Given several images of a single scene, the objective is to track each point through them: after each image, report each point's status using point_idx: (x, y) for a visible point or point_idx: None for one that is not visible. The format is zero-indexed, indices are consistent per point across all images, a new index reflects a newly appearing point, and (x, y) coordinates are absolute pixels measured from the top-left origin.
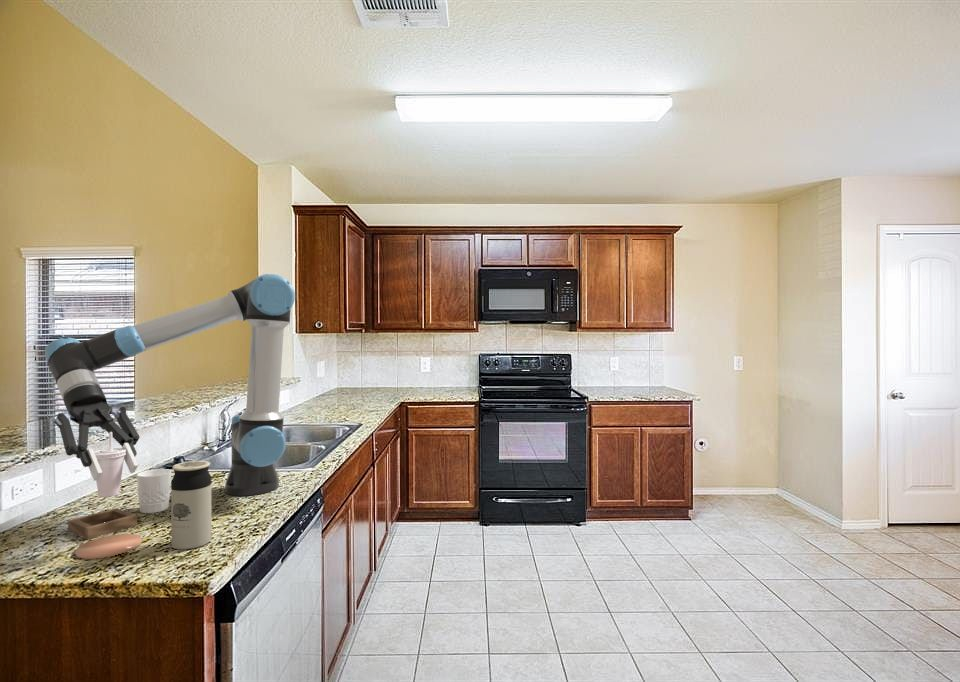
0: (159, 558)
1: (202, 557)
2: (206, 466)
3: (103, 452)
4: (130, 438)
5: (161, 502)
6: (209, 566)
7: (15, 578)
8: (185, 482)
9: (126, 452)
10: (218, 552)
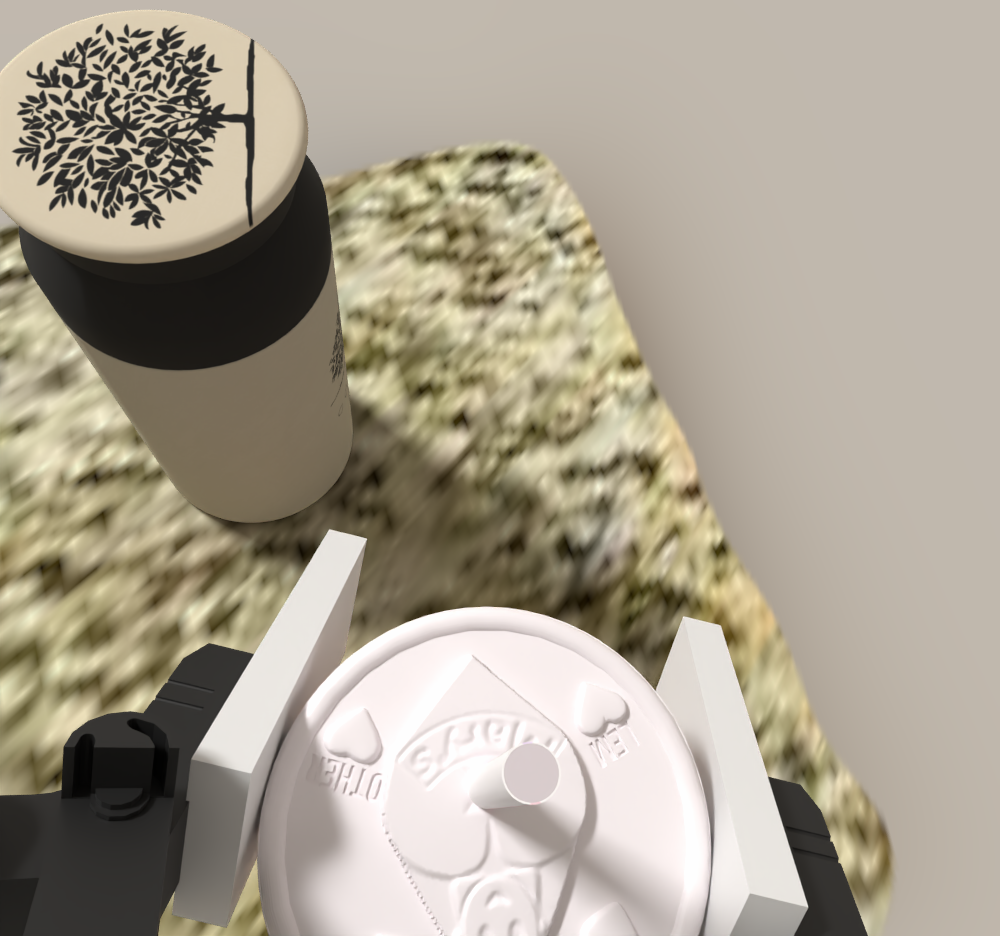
0: (453, 441)
1: (385, 280)
2: (143, 15)
3: (582, 819)
4: (131, 743)
5: None
6: (448, 201)
7: (863, 900)
8: (308, 158)
9: (292, 717)
10: None
